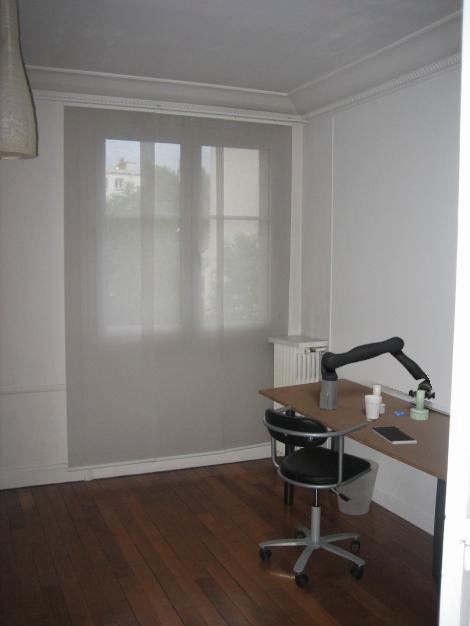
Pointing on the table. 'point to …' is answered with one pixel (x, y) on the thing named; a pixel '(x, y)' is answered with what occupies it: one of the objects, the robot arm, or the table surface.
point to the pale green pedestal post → (419, 407)
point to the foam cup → (372, 406)
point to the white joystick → (378, 392)
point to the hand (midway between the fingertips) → (420, 397)
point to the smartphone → (393, 435)
